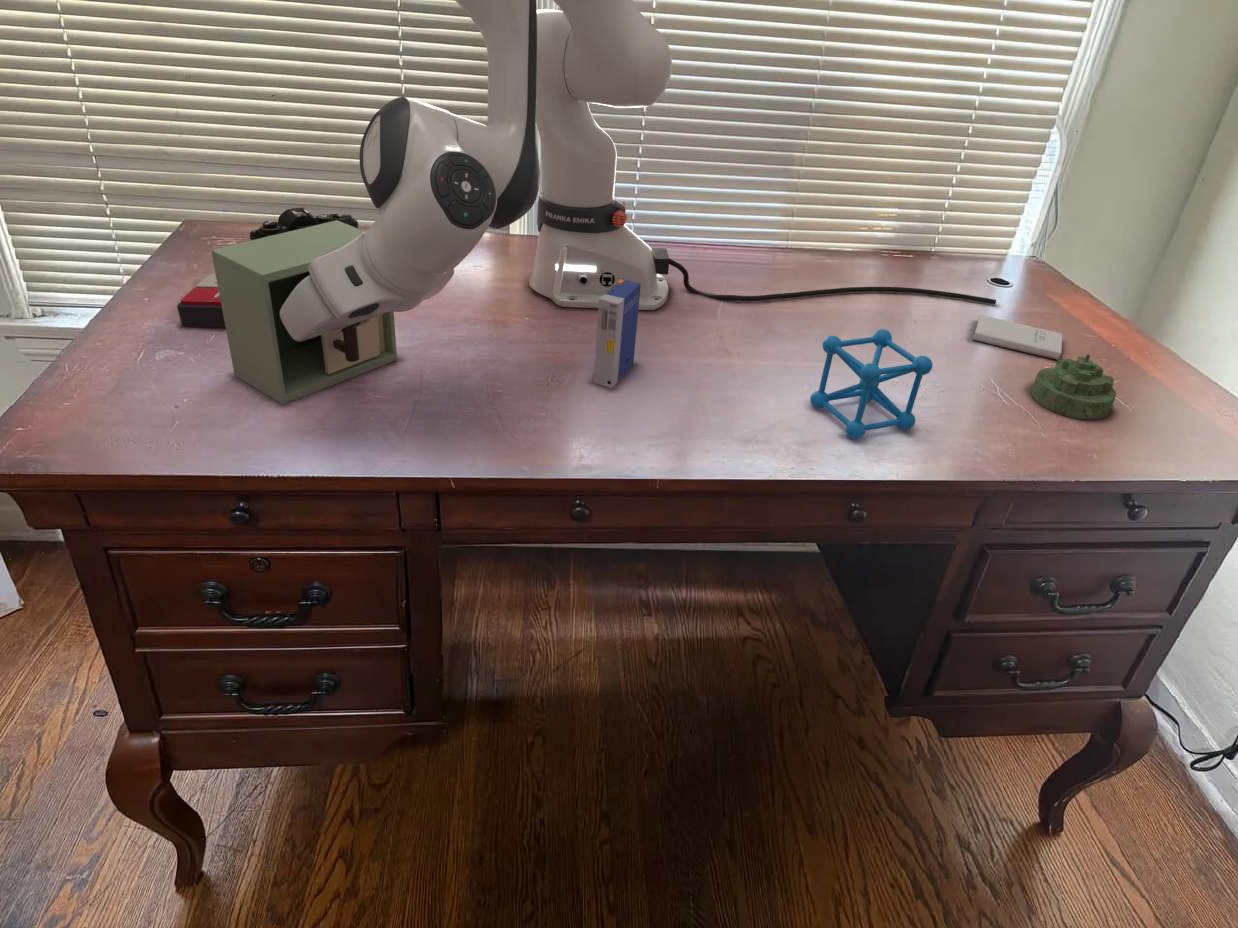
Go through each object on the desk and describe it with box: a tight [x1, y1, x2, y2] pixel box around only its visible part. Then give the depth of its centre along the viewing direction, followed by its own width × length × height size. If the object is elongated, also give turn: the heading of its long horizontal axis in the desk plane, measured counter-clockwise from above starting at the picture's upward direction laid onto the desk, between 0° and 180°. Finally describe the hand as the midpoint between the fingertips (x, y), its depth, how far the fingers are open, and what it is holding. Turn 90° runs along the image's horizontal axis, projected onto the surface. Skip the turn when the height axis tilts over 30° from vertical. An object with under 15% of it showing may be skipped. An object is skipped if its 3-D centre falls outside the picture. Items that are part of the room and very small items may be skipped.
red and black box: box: [176, 273, 226, 328], centre depth 120 cm, size 11×4×15 cm
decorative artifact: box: [1030, 353, 1117, 421], centre depth 116 cm, size 10×7×10 cm
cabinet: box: [210, 220, 398, 405], centre depth 105 cm, size 10×17×16 cm, turn 142°
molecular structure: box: [809, 328, 933, 440], centre depth 107 cm, size 10×10×10 cm
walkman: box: [592, 279, 641, 389], centre depth 111 cm, size 8×3×12 cm, turn 158°
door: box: [321, 316, 380, 374], centre depth 104 cm, size 4×8×13 cm, turn 142°
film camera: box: [249, 207, 359, 241], centre depth 134 cm, size 18×12×10 cm
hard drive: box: [972, 314, 1063, 361], centre depth 134 cm, size 2×8×12 cm
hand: (345, 323), depth 102 cm, fingers closed on door, 2 cm apart
